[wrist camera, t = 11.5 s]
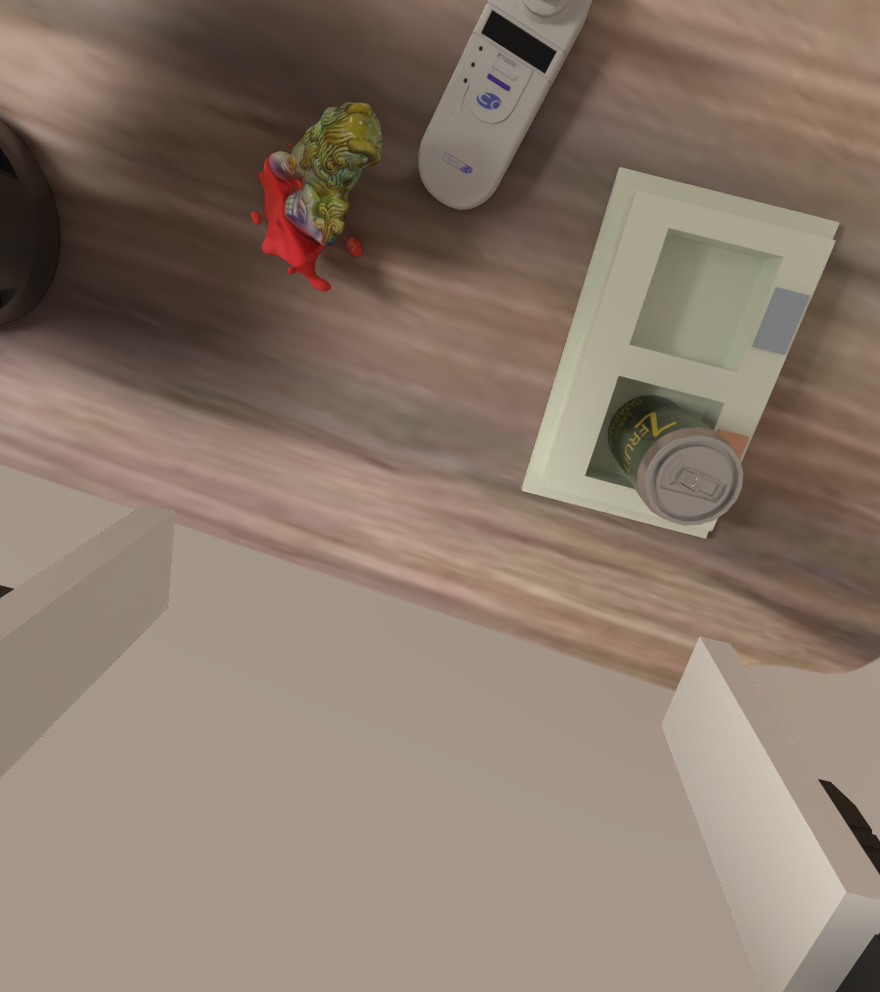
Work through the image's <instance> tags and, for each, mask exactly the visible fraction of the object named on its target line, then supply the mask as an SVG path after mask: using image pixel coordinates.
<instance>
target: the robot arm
mask: <svg viewBox="0 0 880 992" xmlns="http://www.w3.org/2000/svg"><path fill="white" fill-rule="evenodd" d="M58 252H59V226H58V218H57V213H56V208H55V204H54V200H53V197H52V194H51V191H50V188H49V186H48V183H47V181H46V179H45V177H44V175H43V173H42V171H41V169H40V167H39V165H38V163H37V162H36V160H35V159H34V157H33V155H32V154H31V153H30V151H29V150H28V148H27V147H26V146H25V145H24V143H23V142H22V141H21V140H20V139H19V137H18V136H17V135H16V134H15V133H14V132H13V131H12V130H11V129H10V128H9V127H8V126H7V125H5V124H4V123H3V122H2V121H1V120H0V324H4V323H7V322H10V321H12V320H15V319H17V318H19V317H20V316H22V315H24V314H25V313H27V312H28V311H29V310H30V309H32V308H33V307H34V306H35V305H36V304H37V302H38V301H39V300H40V299H41V298H42V296H43V295H44V293H45V292H46V290H47V288H48V286H49V284H50V282H51V280H52V277H53V275H54V272H55V268H56V264H57V259H58ZM174 522H175V511H172V510H168V509H164V508H160V507H155V506H151V505H147V504H144V505H142V506H141V507H139V508H138V509H136V510H135V511H133V512H132V513H130V514H129V515H127V516H126V517H124V518H123V519H121V520H120V521H118V522H117V523H115V524H113V525H112V526H110V527H109V528H107V529H106V530H104V531H103V532H101V533H100V534H98V535H97V536H95V537H93V538H92V539H90V540H89V541H87V542H86V543H84V544H83V545H81V546H80V547H78V548H77V549H75V550H74V551H72V552H70V553H69V554H67V555H66V556H64V557H63V558H61V559H60V560H58V561H57V562H55V563H54V564H52V565H50V566H49V567H47V568H46V569H44V570H43V571H41V572H40V573H38V574H37V575H35V576H34V577H32V578H31V579H29V580H27V581H26V582H24V583H23V584H21V585H20V586H18V587H17V588H15V589H13V588H9V587H5V586H1V585H0V778H1V777H2V776H3V775H4V774H5V773H6V772H7V771H8V770H9V769H10V768H11V767H12V766H13V765H14V764H15V763H16V761H17V760H19V759H20V758H21V757H22V756H23V754H24V753H25V752H26V751H27V750H28V749H29V748H30V747H31V746H32V745H33V744H34V743H35V742H36V741H37V740H38V739H39V738H40V737H41V736H42V735H43V734H44V733H45V732H46V731H47V730H48V729H49V728H50V727H51V726H52V725H53V724H54V723H55V722H56V721H57V720H58V719H59V718H60V717H61V716H62V715H63V714H64V713H65V712H66V711H67V710H68V709H69V708H70V707H71V706H72V705H73V703H75V702H76V701H77V700H78V699H79V698H80V696H81V695H82V694H83V693H84V692H85V691H86V690H87V689H88V688H89V687H90V686H91V685H92V684H93V683H94V682H95V681H96V680H97V679H98V678H99V677H100V676H101V675H102V674H103V673H104V672H105V671H106V670H107V669H108V668H109V667H110V666H111V665H112V664H113V663H114V662H115V661H116V660H117V659H118V658H119V657H120V656H121V655H122V654H123V653H124V652H125V651H126V650H127V649H128V648H129V647H130V646H131V645H132V644H133V642H134V641H136V640H137V639H138V637H139V636H140V635H141V634H142V633H143V632H144V631H145V630H146V629H147V628H148V627H149V626H150V625H151V624H152V623H153V622H154V621H155V620H156V619H157V618H158V617H159V616H160V615H161V614H162V613H163V612H164V611H165V610H166V609H167V608H168V599H169V587H170V586H169V585H170V574H171V561H172V547H173V535H174ZM661 727H662V729H663V732H664V735H665V737H666V740H667V743H668V745H669V748H670V751H671V753H672V756H673V758H674V761H675V764H676V767H677V769H678V772H679V775H680V777H681V780H682V783H683V785H684V788H685V791H686V793H687V796H688V798H689V801H690V804H691V807H692V810H693V812H694V815H695V818H696V820H697V823H698V826H699V828H700V831H701V833H702V836H703V839H704V841H705V844H706V847H707V850H708V852H709V855H710V857H711V860H712V863H713V866H714V868H715V871H716V874H717V876H718V879H719V882H720V884H721V887H722V890H723V892H724V895H725V898H726V900H727V903H728V906H729V908H730V911H731V913H732V916H733V919H734V922H735V924H736V927H737V930H738V932H739V935H740V938H741V940H742V943H743V946H744V948H745V951H746V954H747V956H748V959H749V962H750V964H751V967H752V970H753V972H754V975H755V978H756V980H757V983H758V986H759V989H760V991H761V992H880V841H879V839H878V838H877V836H876V835H873V834H872V829H871V828H870V826H869V825H868V823H867V822H866V820H865V819H864V818H863V816H862V815H861V813H860V812H859V810H858V809H857V807H856V806H855V805H854V804H853V803H852V802H851V801H850V800H849V799H848V798H847V797H846V796H845V795H843V793H842V792H841V791H839V790H838V789H837V788H836V787H835V786H834V785H833V784H832V783H831V782H828V781H824V780H820V779H817V777H816V776H815V774H814V773H813V771H812V769H811V768H810V766H809V765H808V763H807V762H806V760H805V759H804V757H803V756H802V754H801V752H800V751H799V749H798V748H797V746H796V745H795V743H794V742H793V740H792V739H791V737H790V736H789V734H788V732H787V731H786V729H785V728H784V726H783V725H782V723H781V721H780V720H779V718H778V717H777V715H776V714H775V712H774V711H773V709H772V708H771V706H770V704H769V703H768V701H767V700H766V698H765V697H764V695H763V694H762V692H761V691H760V689H759V687H758V686H757V684H756V683H755V681H754V680H753V678H752V677H751V675H750V674H749V672H748V671H747V669H746V667H745V666H744V664H743V663H742V661H741V660H740V658H739V656H738V655H737V653H736V652H735V650H734V649H733V647H732V646H731V644H729V643H725V642H721V641H717V640H712V639H708V638H704V637H699V639H698V641H697V644H696V646H695V648H694V651H693V653H692V655H691V657H690V660H689V662H688V664H687V667H686V669H685V671H684V674H683V676H682V678H681V681H680V683H679V685H678V687H677V690H676V692H675V694H674V697H673V699H672V701H671V704H670V706H669V708H668V711H667V713H666V715H665V718H664V720H663V722H662V724H661Z"/></svg>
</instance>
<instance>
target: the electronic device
mask: <svg viewBox="0 0 880 992" xmlns="http://www.w3.org/2000/svg"><path fill="white" fill-rule="evenodd" d="M591 3H592V0H488V1H487V4H486V5H485V7H484V10H483V12H482V14H481V16H480V18H479V20H478V22H477V24H476V26H475V29H474V31H473V34H472V35H471V37H470V39H469V41H468V43H467V45H466V48H465V50H464V52H463V54H462V56H461V58H460V60H459V62H458V65H457V67H456V69H455V71H454V73H453V75H452V77H451V79H450V82H449V84H448V86H447V88H446V90H445V92H444V94H443V96H442V98H441V101H440V103H439V105H438V107H437V109H436V111H435V113H434V115H433V118H432V120H431V122H430V124H429V126H428V128H427V130H426V132H425V134H424V137H423V139H422V141H421V144H420V148H419V153H418V167H419V173H420V177H421V179H422V182H423V184H424V186H425V187H426V188H427V190H428V191H429V192H430V194H431V195H432V196H433V197H435V198H436V199H437V200H438V201H440V202H442V203H443V204H445V205H447V206H449V207H451V208H454V209H460V210H466V209H471V208H474V207H477V206H479V205H481V204H483V203H484V202H485V201H487V200H488V199H489V198H490V197H491V196H492V194H493V193H494V192H495V191H496V189H497V187H498V186H499V184H500V182H501V180H502V178H503V176H504V174H505V172H506V171H507V169H508V167H509V165H510V163H511V161H512V159H513V157H514V156H515V154H516V152H517V150H518V148H519V146H520V144H521V142H522V140H523V139H524V137H525V135H526V133H527V131H528V129H529V127H530V125H531V124H532V122H533V120H534V118H535V116H536V114H537V112H538V110H539V108H540V107H541V105H542V103H543V101H544V99H545V97H546V95H547V93H548V91H549V90H550V88H551V86H552V84H553V82H554V80H555V78H556V76H557V75H558V73H559V71H560V69H561V67H562V65H563V63H564V61H565V60H566V58H567V56H568V54H569V52H570V50H571V48H572V46H573V44H574V43H575V41H576V39H577V37H578V35H579V33H580V31H581V29H582V28H583V26H584V23H585V20H586V17H587V15H588V12H589V9H590V6H591Z"/></svg>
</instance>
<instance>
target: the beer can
mask: <svg viewBox="0 0 880 992" xmlns="http://www.w3.org/2000/svg"><path fill="white" fill-rule="evenodd" d="M608 444H609V447H610V450H611V452H612V454H613V456H614V457H615V459H616V460H617V462H618V463H619V465H620V467H621V468H622V470H623V471H624V473H625V474H626V476H627V477H628V479H629V480H630V482H631V484H632V485H633V487H634V488H635V490H636V491H637V493H638V494H639V496H640V498H641V499H642V500H643V502H644V503H645V504H646V505H647V507H648V508H649V509H650V511H652V512H653V513H655V514H656V515H658V516H660V517H661V518H663V519H665V520H668V521H669V522H672V523H676V524H680V525H684V526H687V525H701V524H704V523H707V522H710V521H713V520H715V519H717V518H718V517H720V516H721V515H723V514H724V513H726V512H727V511H728V510H729V509H730V507H731V506H732V505H733V504H734V503H735V502H736V500H737V498H738V496H739V493H740V491H741V489H742V485H743V469H742V466H741V462H740V459H739V457H738V454H737V451H736V450H735V449H734V447H733V446H732V445H731V443H730V442H729V440H728V439H726V438H725V437H723V436H722V435H720V434H719V433H717V432H716V431H714V430H713V429H711V428H710V427H708V426H707V425H706V424H704V423H703V422H701V421H700V420H698V419H697V418H695V417H694V416H692V415H691V414H689V413H688V412H686V411H685V410H684V409H682V408H681V407H679V406H678V405H676V404H675V403H673V402H672V401H670V400H669V399H667V398H664V397H660V396H656V395H649V396H640V397H638V398H635V399H632V400H630V401H628V402H627V403H626V404H624V405H623V406H622V407H620V408H619V409H618V411H617V412H616V413H615V415H614V416H613V417H612V419H611V422H610V425H609V428H608Z"/></svg>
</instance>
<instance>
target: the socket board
mask: <svg viewBox="0 0 880 992" xmlns="http://www.w3.org/2000/svg"><path fill="white" fill-rule="evenodd" d="M839 223H840V222H836V221H832V220H828V219H824V218H820V217H816V216H812V215H808V214H805V213H801V212H797V211H793V210H789V209H785V208H781V207H777V206H773V205H769V204H765V203H761V202H757V201H753V200H749V199H745V198H741V197H737V196H733V195H729V194H725V193H721V192H717V191H713V190H709V189H705V188H701V187H697V186H693V185H689V184H685V183H681V182H677V181H673V180H669V179H665V178H661V177H657V176H653V175H649V174H645V173H641V172H637V171H634V170H630V169H626V168H622V167H620V168H619V169H618V172H617V175H616V178H615V182H614V185H613V188H612V192H611V195H610V198H609V201H608V205H607V208H606V211H605V215H604V218H603V221H602V225H601V228H600V231H599V234H598V238H597V241H596V244H595V248H594V251H593V254H592V258H591V261H590V264H589V267H588V271H587V274H586V277H585V281H584V284H583V287H582V291H581V294H580V297H579V301H578V304H577V307H576V310H575V314H574V317H573V320H572V324H571V327H570V330H569V334H568V337H567V340H566V343H565V347H564V350H563V353H562V357H561V360H560V363H559V367H558V370H557V373H556V376H555V380H554V383H553V386H552V390H551V393H550V396H549V400H548V403H547V406H546V409H545V413H544V416H543V419H542V423H541V426H540V429H539V433H538V436H537V439H536V442H535V446H534V449H533V452H532V456H531V459H530V462H529V466H528V469H527V472H526V476H525V479H524V482H523V485H522V491H525V492H529V493H533V494H537V495H540V496H544V497H548V498H552V499H556V500H560V501H563V502H567V503H571V504H575V505H579V506H583V507H586V508H590V509H594V510H598V511H602V512H605V513H609V514H613V515H617V516H621V517H625V518H628V519H632V520H636V521H640V522H644V523H648V524H651V525H655V526H659V527H663V528H667V529H670V530H674V531H678V532H682V533H686V534H690V535H693V536H697V537H701V538H705V539H706V537H707V535H708V532H709V531H713V528H714V526H715V524H716V521H717V519H718V518H717V519H715V520H713V521H710V522H707V523H704V524H701V525H687V526H684V525H680V524H676V523H672V522H669V521H668V520H665V519H663V518H661V517H660V516H658V515H656V514H655V513H653V512H652V511H650V509H649V508H648V507H647V505H646V504H645V503H644V502H643V500H642V499H641V498H640V496H639V494H638V493H637V491H636V490H635V488H634V487H633V485H632V484H631V482H630V480H629V479H628V477H627V476H626V474H625V473H624V471H623V470H622V468H621V467H620V465H619V463H618V462H617V460H616V459H615V457H614V456H613V454H612V452H611V450H610V447H609V444H608V428H609V425H610V422H611V419H612V417H613V416H614V415H615V413H616V412H617V411H618V409H619V408H620V407H622V406H623V405H624V404H626V403H627V402H628V401H630V400H632V399H635V398H638V397H640V396H649V395H656V396H660V397H664V398H667V399H669V400H670V401H672V402H673V403H675V404H676V405H678V406H679V407H681V408H682V409H684V410H685V411H686V412H688V413H689V414H691V415H692V416H694V417H695V418H697V419H698V420H700V421H701V422H703V423H704V424H706V425H707V426H708V427H710V428H711V429H713V430H714V431H716V432H717V433H719V434H720V435H722V436H723V437H725V438H726V439H728V440H729V442H730V443H731V445H732V446H733V447H734V449H735V450H736V451H737V454H738V457H739V459H740V462H741V463H742V460H743V458H744V456H745V453H746V451H747V448H748V446H749V444H750V441H751V439H752V437H753V434H754V432H755V430H756V427H757V425H758V423H759V420H760V418H761V416H762V413H763V411H764V409H765V406H766V404H767V402H768V399H769V397H770V395H771V392H772V390H773V387H774V385H775V383H776V380H777V378H778V376H779V373H780V371H781V369H782V366H783V364H784V362H785V359H786V357H787V355H788V352H789V350H790V348H791V345H792V343H793V341H794V338H795V336H796V334H797V331H798V329H799V326H800V324H801V322H802V319H803V317H804V315H805V312H806V310H807V308H808V305H809V303H810V301H811V298H812V296H813V294H814V291H815V289H816V287H817V284H818V282H819V280H820V277H821V275H822V273H823V270H824V268H825V265H826V263H827V261H828V258H829V256H830V254H831V251H832V249H833V247H834V244H835V242H836V240H833V237H834V235H835V233H836V230H837V228H838V226H839Z"/></svg>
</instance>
